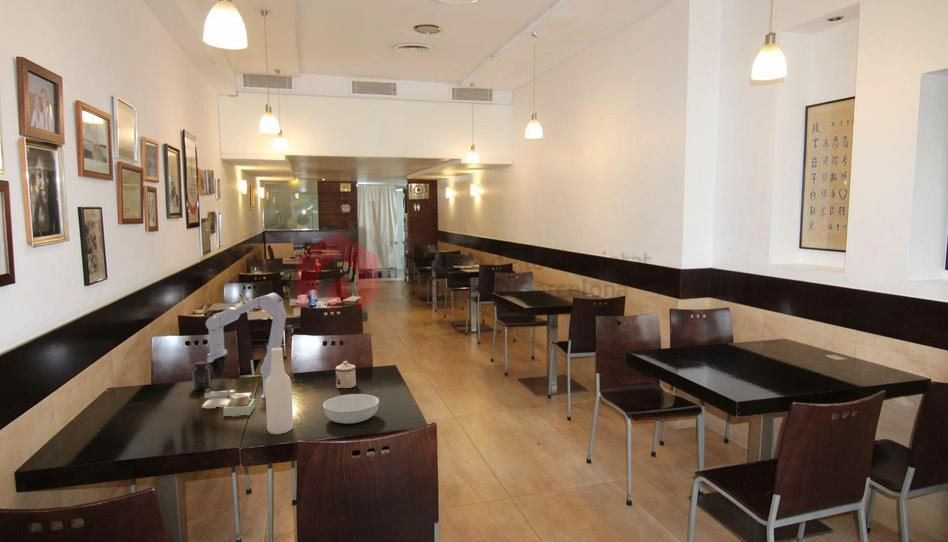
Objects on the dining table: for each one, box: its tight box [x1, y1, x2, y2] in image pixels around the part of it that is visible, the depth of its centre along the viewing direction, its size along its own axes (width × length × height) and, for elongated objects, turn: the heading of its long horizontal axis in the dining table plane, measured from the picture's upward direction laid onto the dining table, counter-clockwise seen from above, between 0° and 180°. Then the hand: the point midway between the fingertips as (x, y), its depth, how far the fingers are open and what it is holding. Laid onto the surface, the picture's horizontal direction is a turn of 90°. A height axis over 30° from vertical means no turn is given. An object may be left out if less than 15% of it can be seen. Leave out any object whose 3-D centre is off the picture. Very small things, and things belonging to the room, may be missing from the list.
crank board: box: [201, 392, 252, 409], centre depth 231 cm, size 16×14×2 cm
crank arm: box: [204, 388, 237, 399], centre depth 233 cm, size 12×4×3 cm, turn 100°
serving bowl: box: [322, 393, 380, 425], centre depth 210 cm, size 21×21×7 cm
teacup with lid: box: [334, 360, 357, 389], centre depth 249 cm, size 12×9×12 cm
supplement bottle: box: [192, 361, 211, 392], centre depth 248 cm, size 7×7×12 cm
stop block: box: [230, 392, 249, 407], centre depth 219 cm, size 5×5×6 cm
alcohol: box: [265, 347, 294, 435], centre depth 198 cm, size 9×9×30 cm
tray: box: [222, 398, 256, 417], centre depth 219 cm, size 10×10×4 cm
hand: (218, 374), depth 238 cm, fingers closed
